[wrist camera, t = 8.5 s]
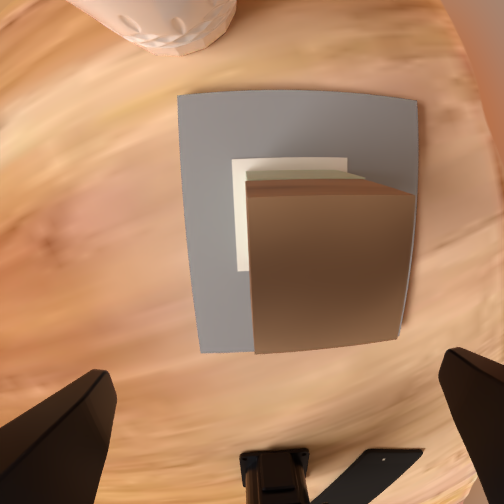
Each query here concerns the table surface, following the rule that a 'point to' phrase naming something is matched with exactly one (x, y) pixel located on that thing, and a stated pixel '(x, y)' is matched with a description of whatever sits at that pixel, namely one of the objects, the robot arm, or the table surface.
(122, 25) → the white cup
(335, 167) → the building board
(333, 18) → the table surface
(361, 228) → the walnut cube
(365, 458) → the cell phone
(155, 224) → the table surface
